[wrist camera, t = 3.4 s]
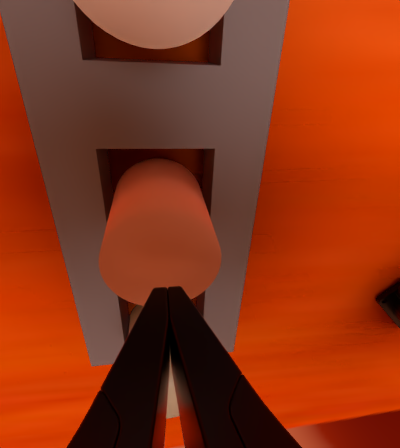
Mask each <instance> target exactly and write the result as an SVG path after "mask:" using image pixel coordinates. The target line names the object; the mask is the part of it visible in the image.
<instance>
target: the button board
mask: <svg viewBox="0 0 400 448" xmlns="http://www.w3.org/2000/svg"><path fill="white" fill-rule="evenodd" d="M289 1H290V0H234V1H233V2H232V4H231V5H230V7H229V9H228V10H227V11H226V13H225V14H224V15H223V16H222V18H221V19H220V20H219V21H218V22H217V23H216V24H215V25H214V26H213V27H212V28H211V29H210V36H209V57H208V62H193V61H168V60H144V59H119V58H96V55H95V47H94V39H93V31H92V23H91V19H90V18H88V17H87V16H86V15H85V14H84V13H83V12H82V11H81V9H80V8H79V7H78V6H77V5H76V3H75V2H74V1H73V0H0V13H1V17H2V21H3V24H4V28H5V32H6V36H7V40H8V44H9V48H10V52H11V55H12V59H13V63H14V67H15V71H16V75H17V79H18V83H19V86H20V90H21V94H22V98H23V102H24V106H25V110H26V114H27V118H28V121H29V125H30V129H31V133H32V137H33V141H34V145H35V149H36V152H37V156H38V160H39V164H40V168H41V172H42V176H43V180H44V183H45V187H46V191H47V195H48V199H49V203H50V207H51V211H52V214H53V218H54V222H55V226H56V230H57V234H58V238H59V242H60V245H61V249H62V253H63V257H64V261H65V265H66V269H67V273H68V276H69V280H70V284H71V288H72V292H73V296H74V300H75V304H76V308H77V311H78V315H79V319H80V323H81V327H82V331H83V335H84V339H85V342H86V346H87V350H88V354H89V358H90V362H91V366H99V365H109V364H113V363H114V362H115V360H116V358H117V356H118V354H119V352H120V350H121V348H122V346H123V344H124V342H125V341H126V339H127V337H128V335H129V323H130V315H129V314H128V306H127V301H126V300H124V299H122V298H121V297H119V296H118V295H116V294H115V293H114V292H113V291H112V290H111V289H110V288H109V287H108V286H107V285H106V283H105V282H104V280H103V278H102V276H101V273H100V269H99V253H100V249H101V245H102V241H103V237H104V233H105V229H106V225H107V222H108V218H109V214H110V210H111V206H112V202H113V198H114V196H113V189H112V181H111V173H110V165H109V157H108V149H204V160H203V181H202V195H203V198H204V201H205V204H206V207H207V210H208V213H209V216H210V219H211V222H212V225H213V228H214V231H215V233H216V236H217V239H218V242H219V245H220V248H221V265H220V269H219V272H218V274H217V276H216V278H215V279H214V281H213V282H212V284H211V285H210V286H209V287H208V288H207V289H206V290H205V291H204V292H202V293H201V294H200V295H198V296H197V305H196V308H197V309H198V311H199V312H200V314H201V315H202V316H203V318H204V319H205V321H206V322H207V324H208V325H209V326H210V328H211V329H212V331H213V332H214V334H215V335H216V336H217V338H218V339H219V341H220V342H221V344H222V345H223V346H224V348H225V349H226V351H227V352H233V350H234V344H235V337H236V331H237V325H238V319H239V312H240V306H241V300H242V294H243V288H244V281H245V275H246V269H247V263H248V256H249V250H250V244H251V238H252V232H253V225H254V219H255V213H256V207H257V200H258V194H259V188H260V182H261V176H262V169H263V163H264V157H265V151H266V144H267V138H268V132H269V126H270V119H271V113H272V107H273V101H274V95H275V88H276V82H277V76H278V70H279V63H280V57H281V51H282V45H283V39H284V32H285V26H286V20H287V14H288V7H289Z"/></svg>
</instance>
